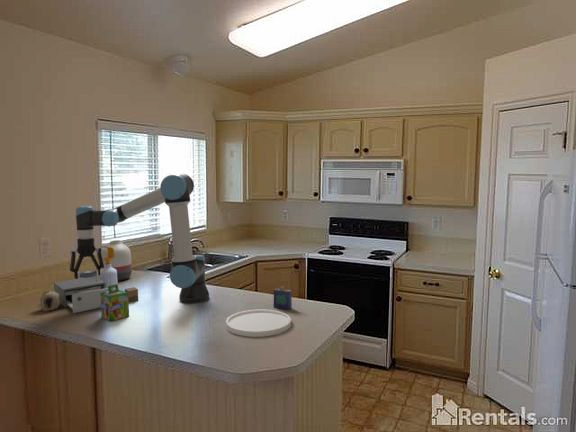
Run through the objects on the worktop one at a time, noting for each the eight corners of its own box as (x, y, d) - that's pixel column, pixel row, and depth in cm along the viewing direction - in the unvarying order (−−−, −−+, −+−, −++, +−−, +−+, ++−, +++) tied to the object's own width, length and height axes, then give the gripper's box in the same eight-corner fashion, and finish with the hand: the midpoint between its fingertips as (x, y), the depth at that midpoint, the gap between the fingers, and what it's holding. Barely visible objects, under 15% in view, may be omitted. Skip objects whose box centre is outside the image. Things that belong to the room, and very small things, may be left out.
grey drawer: (114, 304, 218) (113, 287, 217) (73, 313, 205) (72, 295, 204) (101, 297, 232) (100, 280, 231) (63, 304, 219) (61, 287, 218)
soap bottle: (96, 290, 245) (94, 247, 242) (109, 286, 253) (106, 244, 251) (109, 292, 242) (106, 248, 239) (121, 287, 250) (119, 245, 247)
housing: (106, 299, 228) (105, 282, 227) (64, 307, 215) (63, 289, 214) (95, 292, 242) (94, 276, 241) (55, 299, 229) (53, 282, 228)
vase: (107, 276, 278) (105, 239, 275) (135, 275, 280) (133, 238, 277) (98, 283, 261) (96, 243, 259) (128, 282, 263) (126, 243, 260)
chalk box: (111, 322, 194) (109, 289, 192) (100, 317, 200) (98, 285, 198) (130, 316, 201) (128, 285, 199) (119, 312, 207) (118, 281, 205)
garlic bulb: (42, 314, 213) (34, 295, 212) (60, 307, 218) (53, 288, 218) (47, 312, 206) (39, 292, 206) (65, 305, 212) (58, 286, 212)
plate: (266, 342, 170) (266, 336, 170) (212, 329, 185) (212, 323, 185) (302, 321, 194) (302, 315, 194) (251, 310, 209) (251, 305, 208)
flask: (292, 308, 211) (292, 286, 210) (290, 310, 208) (289, 288, 207) (274, 306, 214) (274, 284, 213) (272, 308, 212) (272, 286, 210)
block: (138, 300, 226) (137, 289, 225) (128, 302, 222) (128, 290, 222) (134, 298, 229) (134, 287, 229) (125, 300, 226) (124, 288, 225)
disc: (98, 275, 215) (98, 272, 215) (81, 278, 210) (81, 274, 210) (93, 273, 222) (93, 269, 221) (76, 275, 216) (76, 272, 216)
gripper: (104, 234, 223) (106, 278, 226) (60, 239, 210) (62, 285, 212) (110, 236, 218) (112, 281, 220) (64, 241, 204) (67, 288, 207)
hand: (87, 283), depth 216 cm, fingers closed on disc, 8 cm apart
